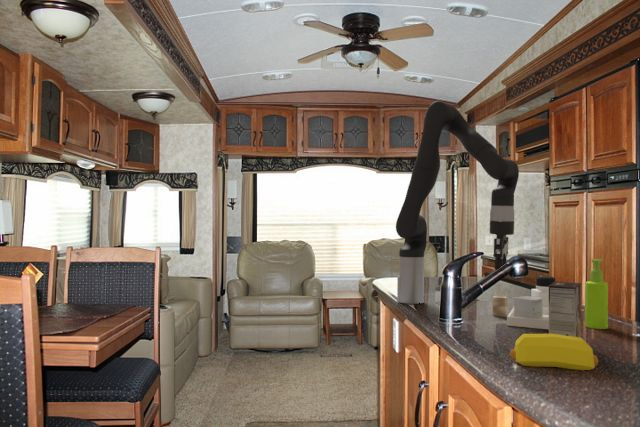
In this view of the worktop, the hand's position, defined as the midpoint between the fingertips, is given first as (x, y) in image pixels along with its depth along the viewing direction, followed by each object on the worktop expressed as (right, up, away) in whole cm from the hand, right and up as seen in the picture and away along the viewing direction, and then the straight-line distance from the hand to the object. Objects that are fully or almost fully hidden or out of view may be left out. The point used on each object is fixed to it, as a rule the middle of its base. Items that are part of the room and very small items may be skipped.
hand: (500, 269), depth 166 cm
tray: (+7, -15, -8) cm, 18 cm away
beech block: (0, -15, +1) cm, 15 cm away
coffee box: (+1, -15, -42) cm, 44 cm away
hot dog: (-8, -15, -55) cm, 58 cm away
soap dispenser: (+23, -16, -16) cm, 32 cm away
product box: (+4, -15, -13) cm, 20 cm away
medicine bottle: (+19, -16, +9) cm, 26 cm away
